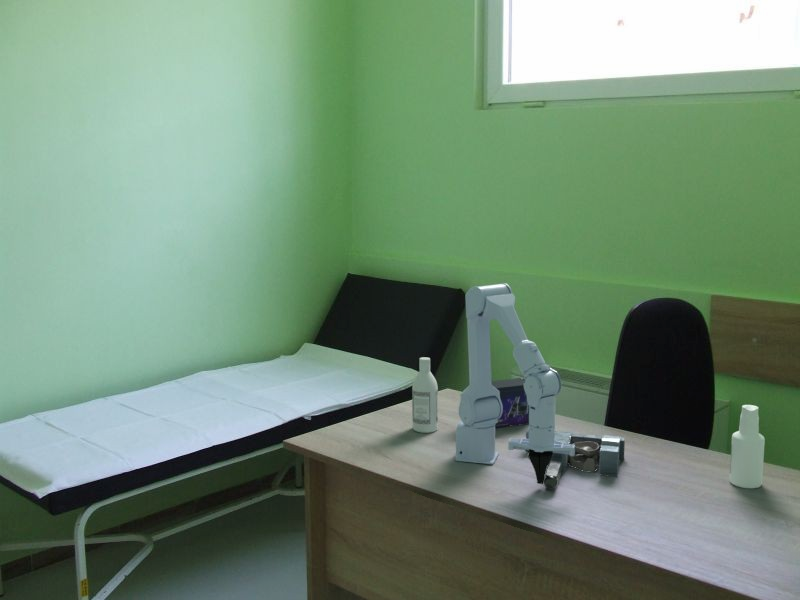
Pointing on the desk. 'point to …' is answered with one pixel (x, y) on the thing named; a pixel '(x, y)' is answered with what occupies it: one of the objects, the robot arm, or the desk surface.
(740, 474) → the spray bottle
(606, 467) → the vise bed
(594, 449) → the dental mold
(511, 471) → the desk surface
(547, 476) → the sliding jaw
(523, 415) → the box
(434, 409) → the bath foam
